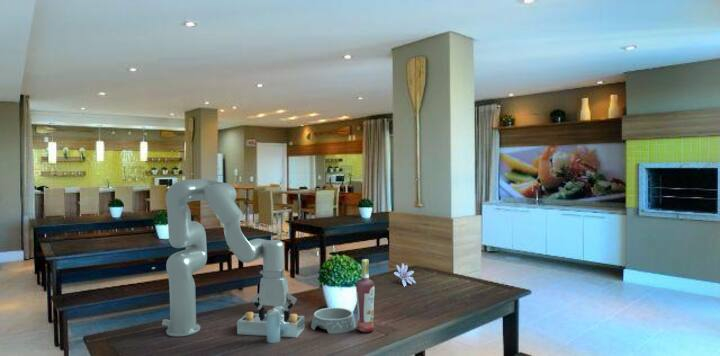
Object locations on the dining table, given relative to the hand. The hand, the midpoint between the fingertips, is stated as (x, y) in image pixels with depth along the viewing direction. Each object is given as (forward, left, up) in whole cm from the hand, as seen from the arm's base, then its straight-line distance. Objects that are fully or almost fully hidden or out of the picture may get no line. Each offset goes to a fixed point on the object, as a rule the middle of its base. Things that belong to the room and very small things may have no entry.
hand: (274, 319), depth 176 cm
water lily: (+43, +87, -8) cm, 97 cm away
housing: (-4, +9, -8) cm, 13 cm away
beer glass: (-8, +30, -8) cm, 32 cm away
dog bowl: (+18, +19, -8) cm, 28 cm away
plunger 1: (-13, +9, -6) cm, 17 cm away
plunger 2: (+4, +9, -6) cm, 12 cm away
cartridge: (0, 0, -8) cm, 8 cm away
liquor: (+32, +15, -8) cm, 36 cm away
